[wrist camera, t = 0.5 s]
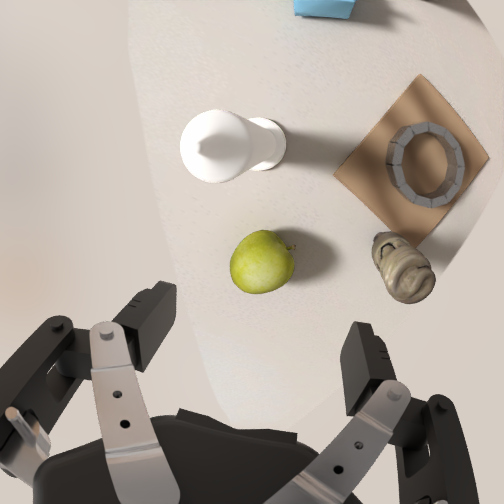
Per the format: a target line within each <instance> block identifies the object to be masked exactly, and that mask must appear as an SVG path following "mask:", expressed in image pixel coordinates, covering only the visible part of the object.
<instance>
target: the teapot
mask: <svg viewBox="0 0 504 504" xmlns="http://www.w3.org/2000/svg"><path fill="white" fill-rule="evenodd" d="M355 1H357V0H294V11H295V16H319V17H333V18H343V19H348V18H349V16H350V13H351V11H352V9H353V6H354V4H355Z"/></svg>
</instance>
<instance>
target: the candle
mask: <svg viewBox="0 0 504 504" xmlns="http://www.w3.org/2000/svg"><path fill="white" fill-rule="evenodd" d="M285 150H286V138H285V135H284V133H283V131H282V129H281V128H280V127H279V126H278V125H277V124H276V123H274V122H273V121H271V120H269V119H266V118H252V119H249V120H247V119H245V118H243V117H241V116H239V115H237V114H234V113H232V112H230V111H226V110H210V111H206V112H204V113H201V114H199V115H198V116H196V117H195V118H194V119H192V120H191V121H190V122H189V124H188V125H187V126H186V128H185V130H184V132H183V134H182V137H181V142H180V152H181V157H182V160H183V162H184V164H185V166H186V167H187V169H188V170H189V171H190V172H191V173H192V174H193V175H194V176H196V177H197V178H199V179H201V180H203V181H206V182H210V183H223V182H227V181H230V180H232V179H234V178H236V177H238V176H239V175H241V174H242V173H244V172H246V171H247V170H249V169H251V170H256V171H262V170H267V169H270V168H272V167H274V166H275V165H277V164H278V163H279V162H280V160H281V159H282V158H283V156H284V153H285Z"/></svg>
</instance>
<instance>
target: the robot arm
mask: <svg viewBox="0 0 504 504" xmlns="http://www.w3.org/2000/svg"><path fill="white" fill-rule="evenodd" d="M176 292H177V291H176V285H175V284H172V283H168V282H164V281H159V282H158V283H157V284H156V285H155V286H154V287H153V288H152V289H145V290H143V291H140V292H138V293H137V294H136V295H135V296H134V297H133V298H132V300H131V301H130V302H129V303H128V304H127V305H126V306H125V307H124V308H123V309H122V310H121V312H119V314H118V315H117V316H116V317H115V318H114V319H113V320H112V321H111V322H109V321H106V322H100V323H98V324H96V325H94V326H93V327H92V328H91V330H86V329H77V328H74V327H73V323H72V321H71V320H70V319H69V318H68V317H66V316H60V315H59V316H53V317H51V318H48V319H47V320H46V321H45V322H44V323H43V324H42V325H41V326H40V327H39V328H38V329H37V330H36V331H35V332H34V333H33V334H32V335H31V336H30V337H29V338H28V339H27V340H26V341H25V342H24V343H23V344H22V345H21V347H19V348H18V349H17V351H16V352H15V353H14V354H13V355H12V356H11V357H10V358H9V359H8V360H7V361H6V363H5V364H4V365H3V366H2V367H1V368H0V468H1V469H2V470H3V471H4V472H5V473H7V474H8V475H9V476H11V477H15V478H19V479H20V480H22V481H23V482H24V483H26V484H27V485H29V486H30V487H32V488H33V504H363V503H362V502H361V501H360V500H359V499H358V498H357V497H356V496H355V495H354V493H352V491H353V490H354V489H355V487H356V486H357V485H358V484H359V482H360V481H361V480H362V478H363V477H364V476H365V474H366V473H367V472H368V470H369V469H370V467H371V466H372V465H373V464H374V462H375V461H376V459H377V458H378V456H379V455H380V453H381V452H382V450H383V449H384V447H385V446H386V444H387V443H388V444H392V445H395V450H396V458H397V470H398V482H399V499H400V504H479V498H478V493H477V487H476V482H475V478H474V473H473V468H472V464H471V460H470V456H469V452H468V448H467V445H466V441H465V437H464V434H463V431H462V428H461V424H460V421H459V418H458V415H457V412H456V409H455V406H454V404H453V402H452V401H451V400H450V399H449V398H447V397H446V396H444V395H440V394H436V395H433V396H431V397H430V398H429V400H428V401H427V402H426V401H422V400H419V399H416V398H413V397H411V393H410V391H409V389H408V388H407V387H406V386H405V385H404V384H402V383H401V382H398V381H397V379H396V375H395V372H394V369H393V366H392V363H391V360H390V357H389V354H388V351H387V348H386V345H385V343H384V342H383V340H382V339H381V338H380V337H379V336H376V335H374V332H373V329H372V326H371V324H369V323H363V322H356V321H354V322H353V324H352V326H351V328H350V331H349V333H348V335H347V338H346V340H345V342H344V345H343V347H342V350H341V355H340V363H341V370H342V378H343V386H344V395H345V405H346V415H347V416H354V417H353V419H352V420H351V421H350V422H349V423H348V424H347V426H346V427H345V428H344V429H343V430H342V431H341V432H340V433H339V435H337V437H336V438H335V439H334V440H333V441H332V442H331V443H330V444H329V445H328V446H327V447H326V449H324V450H323V451H322V452H321V453H320V454H318V452H316V451H315V450H313V449H312V448H310V447H309V446H307V445H305V444H303V443H301V442H298V441H297V433H293V432H286V431H279V430H272V429H235V428H232V427H230V426H228V425H226V424H223V423H221V422H219V421H217V420H215V419H213V418H211V417H209V416H206V415H202V414H198V413H194V412H191V411H187V410H184V409H181V408H180V409H179V411H178V413H177V415H176V416H174V415H164V416H156V417H152V418H149V415H148V412H147V409H146V406H145V403H144V400H143V397H142V393H141V390H140V387H139V384H138V380H137V377H136V373H135V370H137V371H140V372H144V371H145V369H146V367H147V366H148V364H149V363H150V361H151V359H152V357H153V356H154V354H155V353H156V351H157V350H158V348H159V346H160V345H161V343H162V342H163V340H164V338H165V337H166V335H167V334H168V332H169V331H170V329H171V327H172V326H173V324H174V321H175V317H176ZM54 363H55V365H54ZM53 365H54V366H53ZM52 366H53V367H52ZM51 367H52V369H51V370H50V368H51ZM49 370H50V371H49ZM48 371H49V372H48ZM47 373H48V374H47ZM84 379H86V380H92V383H93V390H94V397H95V403H96V409H97V414H98V420H99V424H100V429H101V434H102V438H101V439H98V440H96V441H93V442H90V443H88V444H85V445H83V446H80V447H77V448H74V449H72V450H69V451H66V452H63V453H60V454H57V455H54V456H52V457H49V451H50V447H51V442H50V438H49V436H48V435H49V433H50V431H51V430H52V428H53V427H54V425H55V423H56V422H57V420H58V418H59V417H60V415H61V414H62V412H63V410H64V409H65V407H66V406H67V404H68V403H69V401H70V399H71V398H72V397H73V395H74V393H75V392H76V390H77V389H78V387H79V386H80V384H81V383H82V381H83V380H84ZM427 444H428V445H429V449H430V456H429V451H428V445H427ZM48 457H49V458H48Z"/></svg>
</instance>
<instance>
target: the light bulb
mask: <svg viewBox="0 0 504 504" xmlns="http://www.w3.org/2000/svg"><path fill="white" fill-rule="evenodd" d="M373 241H374V244H373V247H372V258H373V261H374V264H375V266H376V267H377V269H378V271H379V272H380V274H381V276H382V278H383V280H384V283H385V285H386V288H387V291H388V292H389V294H390V295H391V296H392V297H393V298H394V299H395V300H397V301H399V302H401V303H405V304H414V303H417V302H420V301H422V300H423V299H425V298H426V297H427V296H428V295H429V294H430V293H431V292H432V290H433V288H434V286H435V282H436V278H435V274H434V272H433V271H432V270H431V265H430V262H429V261H428V260H427V258H425V257H424V255H423V254H422V253H421V252H419V251H418V250H417V249H415V248H414V247H412V246H411V244H410V243H409V242H408V241H407V240H406V239H405V238H404V237H403V236H401V235H400V234H398V233H395V232H387V233H382V232H380V233H378V234H376V236H375V237H374V240H373Z"/></svg>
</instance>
